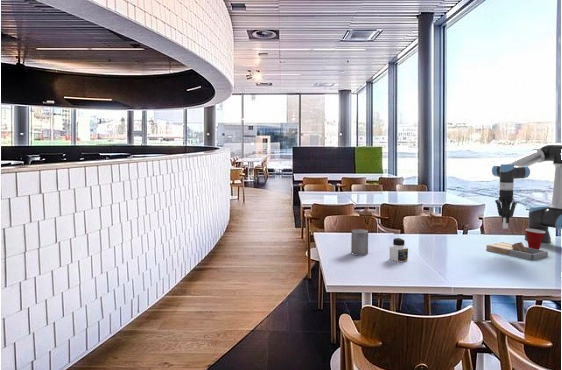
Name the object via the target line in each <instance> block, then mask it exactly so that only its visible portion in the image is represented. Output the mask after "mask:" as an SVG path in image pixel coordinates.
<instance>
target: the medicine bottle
mask: <svg viewBox="0 0 562 370" xmlns="http://www.w3.org/2000/svg"><path fill="white" fill-rule="evenodd" d="M405 244H406V243H405V238H401V237H400V238H399V237H396V238H393V242H392V246H389V256H388V257H389V260H390V259H391V261H393V260H394V261H393V262H396V261H397V263H401V261H402V262H407V261H408V260H409V259H408V258H409V255H408V254H409V248H408V247H405Z"/></svg>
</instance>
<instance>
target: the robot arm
mask: <svg viewBox="0 0 562 370" xmlns="http://www.w3.org/2000/svg"><path fill="white" fill-rule="evenodd" d="M561 149H562V142H556V143H555V142H550V143H546V144H543V145H540V146H538V147H535V148H534V149H532V150H531V152H529V153H526V154H524V155H521V156H519V157H516V158H514V159H512V160H510V161H508V162H505V163H500V164H495V165H493V166H492V168H491V173H492V175H493V176H494V177H497V178H499V197H498V198H497V199H496V200H494V203H495V204H496V208H497V213H498V216H499V217H501V223H502V229H503V230H505V229H509V223H510V218H513V217H514V213H515V209H516V206H517V205H518V201H516V200H515V199H514V186H515V183H514V181H515V180H516V179H517V180H519V179H521V180H522V179H526V178H528V177H530V174H531V169H530V166H532V165H534V164H538V163H539V164H540V163H544V162H553V163H552V164H553V165H554V166H555V170H554V171H555V172H554V181H553V189H552V197H551V198H552V199H551V200H552V201H551V204H550V205H536V206H535V205H533V206H530V207H529V211H528V226H527V229H536V230H541V231H545V234H544V236H543V239H542V242H541V244H542V243H543V244H545V243H550V242H552V240H551V239H552V237H551V234H550V231H549V228H552V229H557V230H562V160H561V155H560V153H561ZM524 240H525V241H527V234H526V233H525V235H524Z"/></svg>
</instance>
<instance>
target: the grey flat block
mask: <svg viewBox="0 0 562 370" xmlns="http://www.w3.org/2000/svg"><path fill="white" fill-rule="evenodd" d="M524 247H525V248H526V250H527V252H525V253H524V252H520V251H515V250H509V255H508V256H512V257H517V258H522V259H526V260H530V261H535V260H539V259H543V258H547V257H549V255H548V252H549V251H547V250H543V249H539V250H538V249H533V248H528V247H527V246H524Z"/></svg>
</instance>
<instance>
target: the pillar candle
mask: <svg viewBox="0 0 562 370" xmlns="http://www.w3.org/2000/svg"><path fill="white" fill-rule="evenodd" d="M350 237H351V241H350V242H351V243H350V245H351V248H350V249H351V251H350V254H351V253H353V254H357V255H356V256H358V255H361V256H367V255H368V254H369V231H368V230H367V229H362V228H355V229H351V236H350ZM353 254H352V255H353ZM366 254H367V255H366Z"/></svg>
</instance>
